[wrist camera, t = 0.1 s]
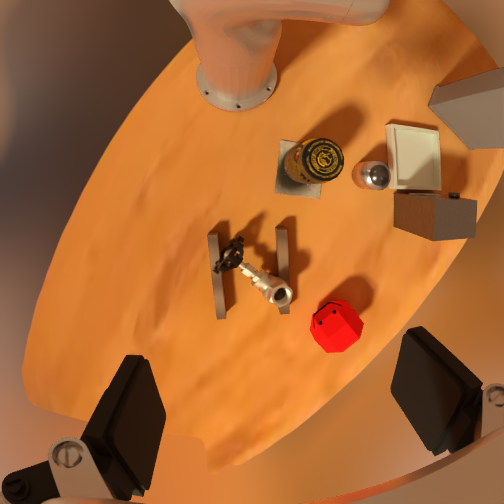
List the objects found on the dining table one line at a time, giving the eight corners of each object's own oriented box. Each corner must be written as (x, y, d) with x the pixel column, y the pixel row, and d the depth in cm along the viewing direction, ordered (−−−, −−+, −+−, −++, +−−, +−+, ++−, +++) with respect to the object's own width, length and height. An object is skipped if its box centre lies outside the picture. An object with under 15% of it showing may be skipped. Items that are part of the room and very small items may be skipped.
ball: (335, 288, 48) (351, 306, 41) (357, 316, 50) (374, 336, 43) (300, 316, 49) (310, 338, 42) (324, 343, 51) (336, 366, 44)
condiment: (325, 147, 42) (353, 138, 31) (319, 198, 44) (346, 205, 33) (280, 140, 42) (295, 126, 30) (274, 193, 44) (287, 197, 32)
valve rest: (208, 232, 45) (207, 235, 42) (284, 226, 45) (287, 229, 43) (217, 312, 48) (216, 319, 46) (287, 307, 49) (289, 313, 46)
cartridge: (351, 161, 43) (366, 159, 37) (374, 162, 43) (392, 161, 37) (352, 188, 44) (367, 190, 38) (375, 188, 44) (393, 190, 38)
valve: (289, 275, 49) (234, 233, 45) (305, 285, 42) (243, 237, 39) (265, 306, 48) (209, 266, 45) (278, 320, 42) (214, 275, 39)
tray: (384, 125, 41) (390, 123, 40) (432, 132, 42) (438, 131, 40) (388, 188, 44) (394, 189, 42) (435, 189, 45) (441, 190, 43)
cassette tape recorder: (475, 128, 42) (563, 123, 17) (469, 149, 43) (561, 151, 19) (434, 85, 39) (525, 57, 15) (426, 106, 41) (524, 82, 16)
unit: (393, 188, 44) (434, 193, 33) (434, 189, 45) (477, 195, 33) (393, 227, 46) (432, 242, 34) (434, 225, 46) (474, 238, 35)
